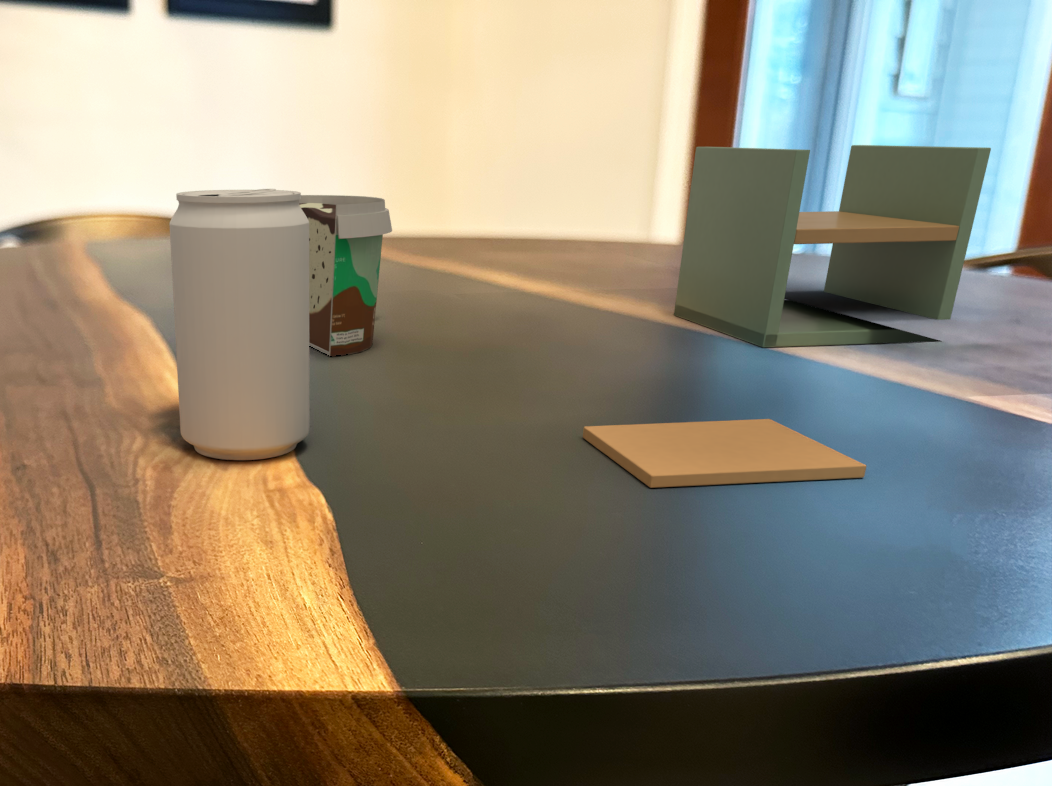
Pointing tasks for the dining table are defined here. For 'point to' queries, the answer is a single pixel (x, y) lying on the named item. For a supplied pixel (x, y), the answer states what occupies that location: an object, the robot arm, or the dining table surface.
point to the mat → (719, 453)
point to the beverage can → (241, 321)
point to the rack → (826, 240)
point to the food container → (344, 269)
